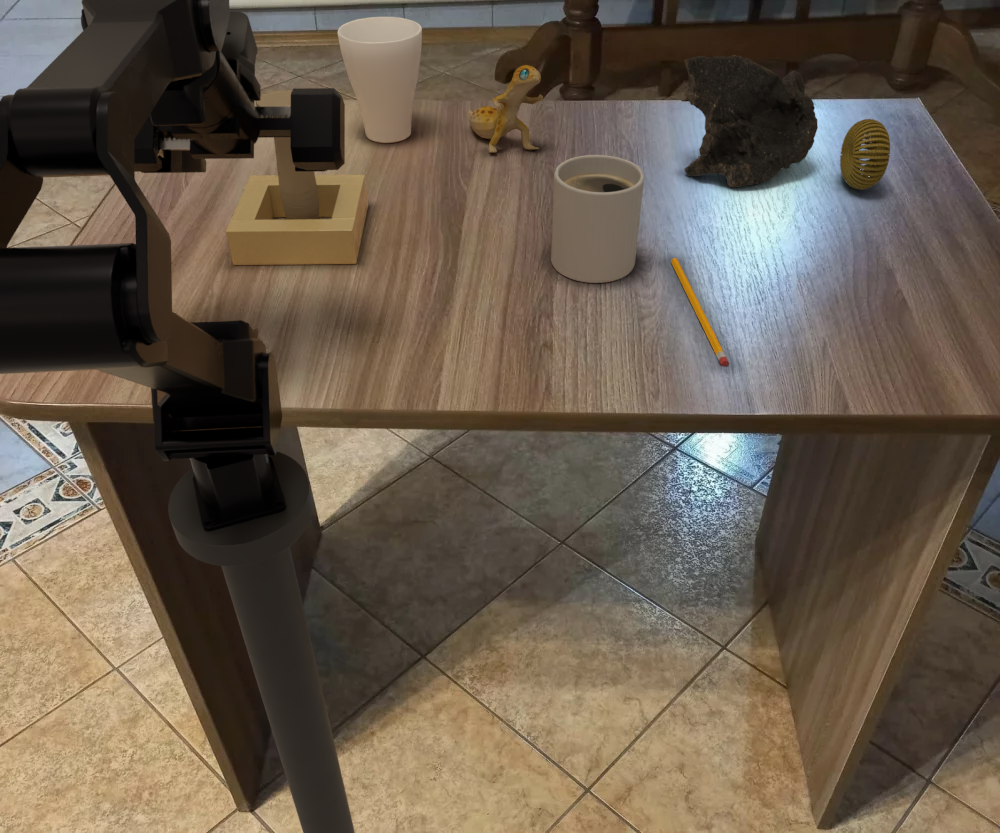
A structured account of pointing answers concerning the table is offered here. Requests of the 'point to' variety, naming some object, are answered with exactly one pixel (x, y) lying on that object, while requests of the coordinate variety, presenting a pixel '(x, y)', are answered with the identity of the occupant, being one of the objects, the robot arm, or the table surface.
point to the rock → (748, 119)
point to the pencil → (700, 313)
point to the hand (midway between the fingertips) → (254, 166)
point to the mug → (596, 217)
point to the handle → (292, 170)
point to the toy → (507, 109)
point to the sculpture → (865, 154)
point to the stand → (298, 224)
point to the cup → (383, 72)
